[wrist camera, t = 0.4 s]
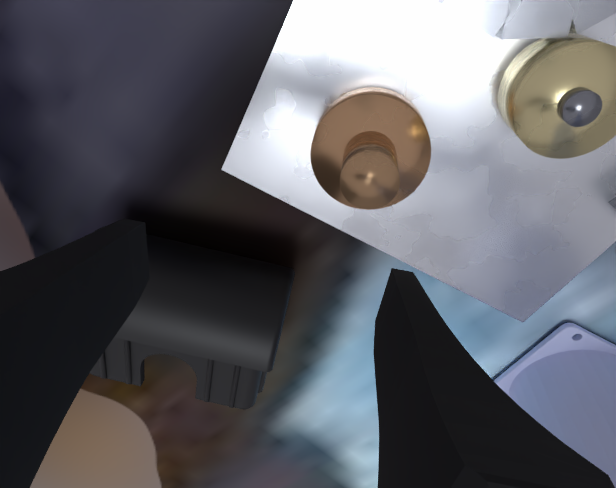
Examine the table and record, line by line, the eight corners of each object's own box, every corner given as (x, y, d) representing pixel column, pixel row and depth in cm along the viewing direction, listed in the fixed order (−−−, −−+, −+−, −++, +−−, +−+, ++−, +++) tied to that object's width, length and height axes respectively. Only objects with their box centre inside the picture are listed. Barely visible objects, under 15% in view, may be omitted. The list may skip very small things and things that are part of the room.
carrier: (955, -86, 14) (1140, -101, 11) (517, 310, 24) (541, 364, 21) (503, -482, 11) (563, -674, 8) (227, 161, 22) (201, 197, 18)
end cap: (302, 240, 24) (282, 326, 18) (281, 330, 28) (259, 424, 22) (124, 198, 24) (47, 271, 18) (128, 295, 27) (66, 380, 22)
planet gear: (451, 124, 18) (469, 159, 15) (386, 213, 21) (389, 260, 18) (349, 63, 18) (344, 87, 14) (295, 164, 20) (280, 203, 17)
